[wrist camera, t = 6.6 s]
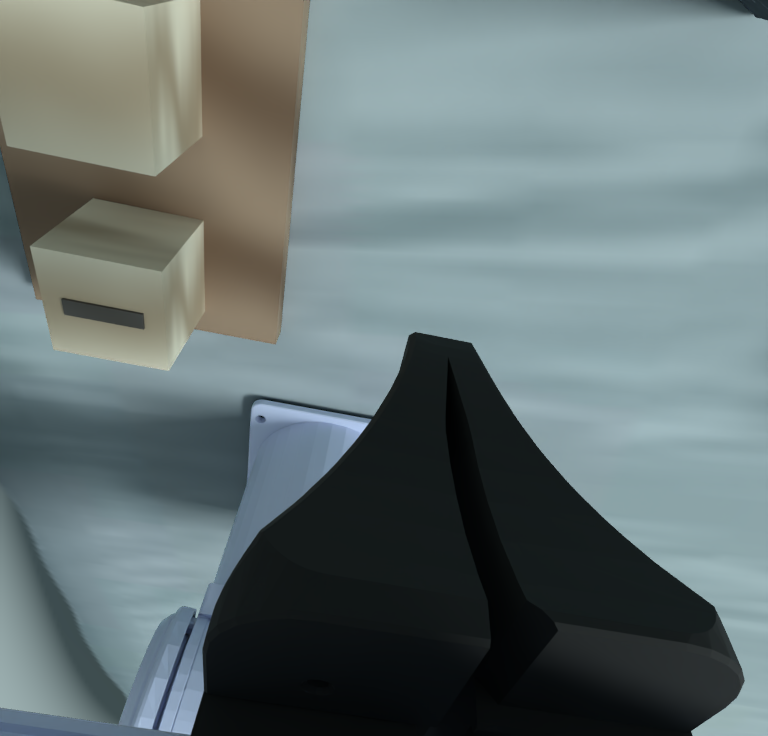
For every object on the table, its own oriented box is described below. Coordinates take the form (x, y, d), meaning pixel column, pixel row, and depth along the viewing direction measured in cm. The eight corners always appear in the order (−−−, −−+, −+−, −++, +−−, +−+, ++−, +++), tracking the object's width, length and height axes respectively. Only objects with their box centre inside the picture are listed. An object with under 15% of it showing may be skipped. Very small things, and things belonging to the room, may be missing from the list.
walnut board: (280, 331, 24) (275, 344, 23) (49, 287, 24) (35, 299, 23) (346, -412, 12) (340, -436, 11) (-131, -546, 11) (-173, -583, 11)
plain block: (202, 136, 18) (155, 176, 15) (80, 110, 18) (7, 146, 15) (200, -6, 16) (143, 6, 13) (59, -38, 16) (-35, -34, 12)
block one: (205, 311, 23) (167, 372, 19) (106, 292, 22) (51, 351, 19) (203, 220, 20) (160, 273, 17) (93, 198, 20) (27, 247, 17)
